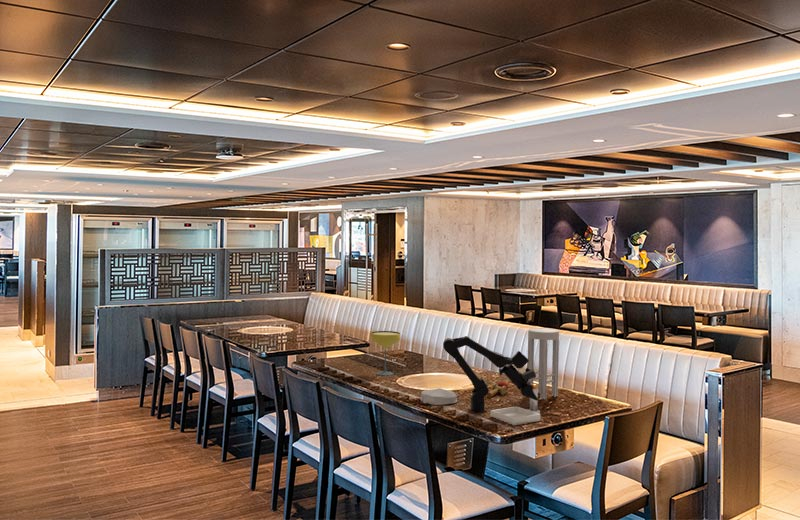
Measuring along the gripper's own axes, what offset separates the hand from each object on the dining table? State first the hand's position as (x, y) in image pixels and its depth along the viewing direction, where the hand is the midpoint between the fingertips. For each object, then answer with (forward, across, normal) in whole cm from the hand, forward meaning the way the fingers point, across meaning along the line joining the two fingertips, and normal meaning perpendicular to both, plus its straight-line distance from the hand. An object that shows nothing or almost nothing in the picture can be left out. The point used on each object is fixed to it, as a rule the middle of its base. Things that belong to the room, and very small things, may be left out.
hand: (536, 398), depth 310 cm
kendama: (-6, +36, +16) cm, 39 cm away
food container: (-28, +19, +38) cm, 50 cm away
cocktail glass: (-50, +82, +60) cm, 113 cm away
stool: (+11, +35, -1) cm, 37 cm away
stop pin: (+4, 0, +6) cm, 7 cm away
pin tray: (-4, -12, +13) cm, 18 cm away
